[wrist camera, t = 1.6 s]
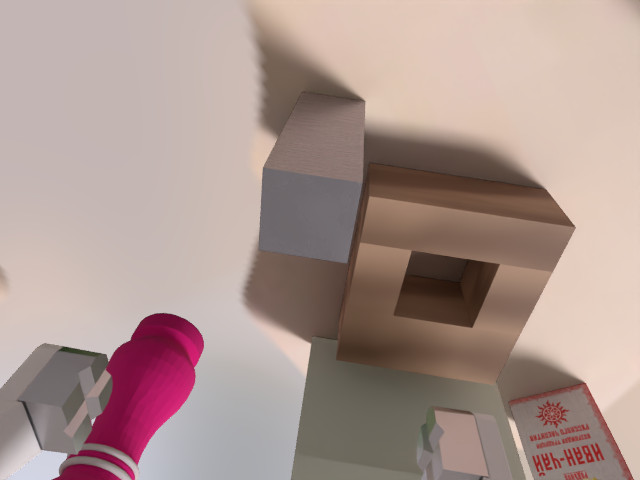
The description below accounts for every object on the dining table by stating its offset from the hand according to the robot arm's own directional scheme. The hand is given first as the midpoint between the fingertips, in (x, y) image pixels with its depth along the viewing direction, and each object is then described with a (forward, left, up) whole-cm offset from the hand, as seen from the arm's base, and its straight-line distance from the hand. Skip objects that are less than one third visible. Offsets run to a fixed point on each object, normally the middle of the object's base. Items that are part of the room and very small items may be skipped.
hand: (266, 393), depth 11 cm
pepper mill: (+22, -12, -21) cm, 33 cm away
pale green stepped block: (+17, +9, -21) cm, 28 cm away
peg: (0, 0, -21) cm, 21 cm away
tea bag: (+23, +24, -21) cm, 39 cm away
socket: (+9, +9, -21) cm, 24 cm away
